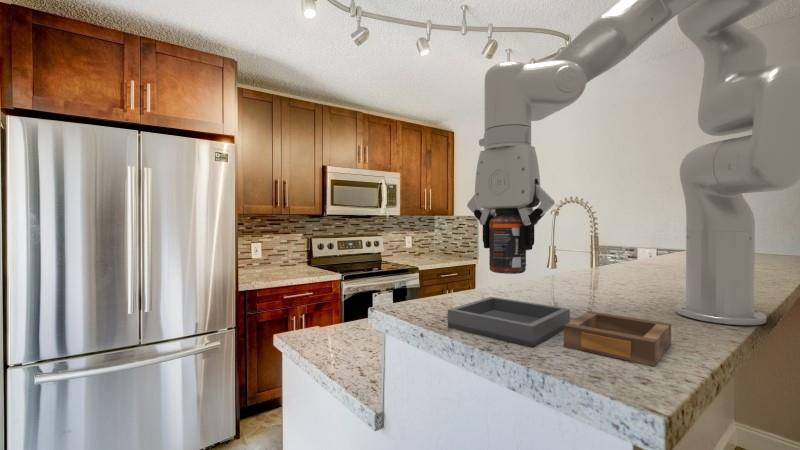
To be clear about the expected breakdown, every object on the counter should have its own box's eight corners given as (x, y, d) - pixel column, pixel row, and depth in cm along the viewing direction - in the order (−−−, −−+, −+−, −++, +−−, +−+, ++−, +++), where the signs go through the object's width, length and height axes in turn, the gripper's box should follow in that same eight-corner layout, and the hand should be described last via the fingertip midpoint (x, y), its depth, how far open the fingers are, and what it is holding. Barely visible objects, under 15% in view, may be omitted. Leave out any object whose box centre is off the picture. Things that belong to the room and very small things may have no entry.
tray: (491, 311, 75) (491, 296, 75) (569, 326, 64) (569, 308, 64) (447, 327, 65) (447, 309, 65) (532, 347, 54) (532, 326, 54)
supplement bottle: (528, 275, 61) (528, 204, 61) (489, 274, 62) (489, 204, 62) (523, 270, 67) (523, 205, 66) (488, 269, 68) (488, 205, 68)
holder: (589, 329, 63) (589, 311, 63) (671, 344, 55) (671, 323, 55) (562, 346, 54) (562, 325, 54) (653, 367, 47) (653, 342, 47)
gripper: (452, 145, 67) (452, 247, 68) (549, 129, 55) (548, 253, 56) (475, 150, 73) (476, 245, 73) (568, 136, 61) (568, 250, 61)
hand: (507, 247), depth 64 cm, fingers closed on supplement bottle, 6 cm apart
